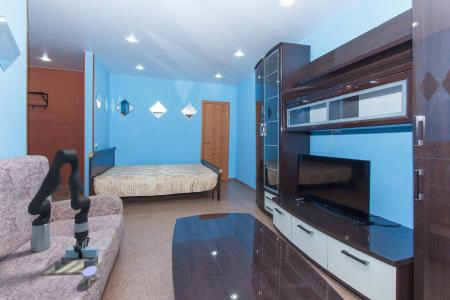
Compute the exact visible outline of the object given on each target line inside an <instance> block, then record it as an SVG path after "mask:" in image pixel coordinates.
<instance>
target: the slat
mask: <svg viewBox="0 0 450 300" xmlns="http://www.w3.org/2000/svg"><path fill="white" fill-rule="evenodd" d="M80 250H81V249H80ZM64 253H65V254H64V257H67V259H79V258H78V253H75V251H74V248H73V247H70V248H68V247H67V248H66V249H64ZM82 256H83V257H82V258H81V259H83V258H86V259H87V258H88V257H89V256H98V257H99V247H86V248H83V249H82Z"/></svg>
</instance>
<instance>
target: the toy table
mask: <svg viewBox="0 0 450 300" xmlns="http://www.w3.org/2000/svg"><path fill="white" fill-rule="evenodd" d="M97 272H98V267H97V268H96V267H95V266H90V267H88V268H86V269H85V270H84V271H83V274H82V279H81V280H80V281H79V282H78V284H79V285H83V284H85V283H86V281H88V284H87V285H88V287H91V284H92V279H93V280H94V281H98V280H101V276H100V275H97Z"/></svg>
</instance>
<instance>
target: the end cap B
mask: <svg viewBox="0 0 450 300" xmlns="http://www.w3.org/2000/svg"><path fill="white" fill-rule="evenodd" d="M98 260H99V255H98V256H89V257H88V259H85V261H84V268H88V267H90V266H96V265H97V264H98Z"/></svg>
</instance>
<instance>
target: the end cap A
mask: <svg viewBox="0 0 450 300" xmlns="http://www.w3.org/2000/svg"><path fill="white" fill-rule="evenodd" d="M67 261H68V258H67V257H65V256H62V257H60V260H57V261H54V263H55V269H60V268H61V265H66V264H67Z"/></svg>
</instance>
